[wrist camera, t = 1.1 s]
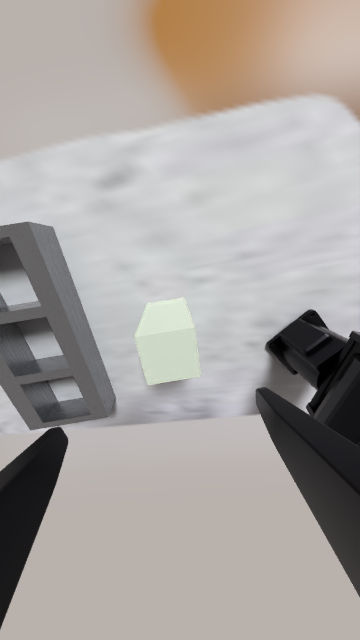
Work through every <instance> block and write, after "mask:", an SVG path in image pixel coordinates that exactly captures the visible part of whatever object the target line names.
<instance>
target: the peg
mask: <svg viewBox="0 0 360 640" xmlns="http://www.w3.org/2000/svg"><path fill="white" fill-rule="evenodd" d="M134 338H135V342H136V346H137V349H138V353H139V357H140V360H141V364H142V368H143V371H144V375H145V379H146V382H147V385H153V384H159V383H165V382H171V381H177V380H183V379H189V378H195V377H201V371H200V363H199V355H198V348H197V340H196V332H195V326H194V323H193V321H192V318H191V315H190V313H189V310H188V307H187V304H186V302H185V299H184V298H178V299H172V300H165V301H159V302H153V303H147V305H146V308H145V310H144V313H143V315H142V318H141V321H140V323H139V326H138V329H137V331H136V334H135V336H134Z"/></svg>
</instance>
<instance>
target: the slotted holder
mask: <svg viewBox="0 0 360 640" xmlns="http://www.w3.org/2000/svg"><path fill="white" fill-rule="evenodd" d="M9 243H13V245H14V247H15V250H16V252H17V254H18V256H19V258H20V261H21V263H22V265H23V267H24V269H25V272H26V274H27V276H28V278H29V280H30V282H31V285H32V287H33V289H34V291H35V293H36V296H37V298H38V300H39V301H37V302H31V303H25V304H18V305H12V306H7V305H6V303H5V302H4V300H3V298H2V296H1V294H0V385H1V386H2V388H3V389H4V391H5V392H6V394H7V396H8V397H9V399H10V400H11V402H12V403H13V405H14V406H15V408H16V409H17V411H18V412H19V414H20V415H21V417H22V418H23V420H24V421H25V423H26V424H27V426H28V427H29V429H30V430H35V429H41V428H47V427H53V426H59V425H65V424H71V423H77V422H82V421H88V420H94V419H100V418H106V417H109V414H110V411H111V409H112V406H113V403H114V400H115V394H114V392H113V389H112V386H111V384H110V381H109V378H108V375H107V373H106V370H105V367H104V365H103V362H102V359H101V356H100V354H99V351H98V348H97V346H96V343H95V340H94V337H93V335H92V332H91V329H90V327H89V324H88V321H87V318H86V316H85V313H84V310H83V308H82V305H81V302H80V300H79V297H78V294H77V291H76V289H75V286H74V283H73V281H72V278H71V275H70V272H69V270H68V267H67V264H66V262H65V259H64V256H63V253H62V251H61V248H60V245H59V243H58V240H57V237H56V234H55V232H54V229H53V227H51V226H46V225H41V224H37V223H32V222H23V223H16V224H10V225H4V226H0V245H3V244H9ZM43 317H47V320H48V322H49V324H50V326H51V328H52V330H53V333H54V335H55V337H56V339H57V341H58V344H59V346H60V348H61V350H62V352H63V354H64V355H62V356H56V357H49V358H43V359H37V360H35V358H34V356H33V354H32V352H31V350H30V348H29V347H28V345H27V343H26V341H25V339H24V337H23V335H22V333H21V332H20V330H19V328H18V326H17V324H16V322H18V321H24V320H30V319H36V318H43ZM70 376H74V379H75V381H76V383H77V385H78V387H79V389H80V392H81V394H82V396H83V398H79V399H73V400H67V401H61V402H58V401H57V399H56V397H55V395H54V393H53V392H52V390H51V388H50V386H49V384H48V382H47V380H52V379H58V378H64V377H70Z"/></svg>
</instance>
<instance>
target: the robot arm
mask: <svg viewBox="0 0 360 640" xmlns="http://www.w3.org/2000/svg"><path fill="white" fill-rule="evenodd" d="M311 313H312V314H311ZM349 337H350V338H349V339H347V338H345V337H343V336H340V335H338V334H336V333H334V332H332V331H330V330H329V329H328V328H327V326H326V325H325V323H324V322H323V320H322V319H321V318H320V316H319V315H318V313H317V312H316V311H315V310H312V309H311V310H308V311H307V312H306V313H304V314H303V315H302V316H300V317H299V318H298V319H297V320H295V321H294V322H293V323H292V324H290V325H289V326H288V327H287V328H285V329H284V330H283V331H281V332H280V333H279V334H278V335H276V336H275V337H274V338H273V339H271V340H270V341H269V342H268V343H267V347H268V348H269V349H270V350H271V351H272V352H273V353H274V354H275V356H276V357H277V358H278V359H279V360H280V361H281V362H282V363H283V364H284V365H285V367H286V368H287V369H288V370H289V371H290V372H291V373H292V374H293V375H296V374H298V373H299V374H300V375H301V376H302V377H303V378H304V379H305V380H306V381H307V382H309V383H310V384H311V385H312V386H313V387H314V388H315V389H316V390H317V392H316V394H315V395H314V397H313V399H312V400H311V402H310V403H308V404H307V406H306V409H307V410H308V412H309V414H310V415H309V414H307V413H305V412H304V411H302V410H301V409H299V408H298V407H296V406H294V405H293V404H291V403H290V402H288V401H287V400H285V399H283V398H282V397H280V396H279V395H277V394H276V393H274V392H272V391H271V390H269V389H268V388H266V387H262V388H257V389H256V404H257V407H258V410H259V412H260V414H261V416H262V418H263V421H264V423H265V425H266V428H267V430H268V432H269V434H270V437H271V439H272V441H273V443H274V445H275V447H276V449H277V451H278V452H279V454H280V456H281V458H282V460H283V461H284V463H285V465H286V467H287V468H288V470H289V472H290V474H291V475H292V477H293V479H294V481H295V483H296V484H297V486H298V488H299V490H300V492H301V493H302V495H303V497H304V499H305V500H306V502H307V504H308V506H309V507H310V509H311V511H312V513H313V515H314V516H315V518H316V520H317V522H318V524H319V525H320V527H321V529H322V531H323V533H324V534H325V536H326V538H327V540H328V541H329V543H330V545H331V547H332V548H333V550H334V552H335V554H336V555H337V557H338V559H339V561H340V563H341V565H342V566H343V568H344V570H345V572H346V573H347V575H348V577H349V578H350V581H351V582H352V584H353V586H354V588H355V589H356V591H357V593H358V595H359V597H360V332H355V331H352V332H351V334H350V336H349ZM271 344H273V345H272V346H271ZM67 445H68V438H67V436H66V434H65V433H64V431H63V430H62V428H61V427H55V428H51V429H49V430H48V431H46V432H45V433H44V434H43V435H42V436H41V437H40V438H38V439H37V440H36V441H35V442H34V443H33V444H31V445H30V446H29V447H28V448H27V449H26V450H25V451H23V453H21V454H20V455H19V456H18V457H16V458H15V459H14V460H13V461H12V462H11V463H10V464H8V465H7V466H6V467H5V468H4V469H3V470H1V471H0V629H1V626H2V623H3V621H4V618H5V615H6V613H7V610H8V608H9V605H10V603H11V600H12V597H13V595H14V592H15V590H16V587H17V584H18V582H19V579H20V577H21V574H22V571H23V569H24V566H25V564H26V561H27V558H28V556H29V553H30V551H31V548H32V545H33V543H34V540H35V538H36V535H37V532H38V530H39V527H40V525H41V522H42V519H43V517H44V514H45V512H46V509H47V506H48V504H49V501H50V499H51V496H52V493H53V491H54V488H55V485H56V482H57V479H58V476H59V473H60V469H61V466H62V462H63V459H64V455H65V452H66V449H67Z"/></svg>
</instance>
